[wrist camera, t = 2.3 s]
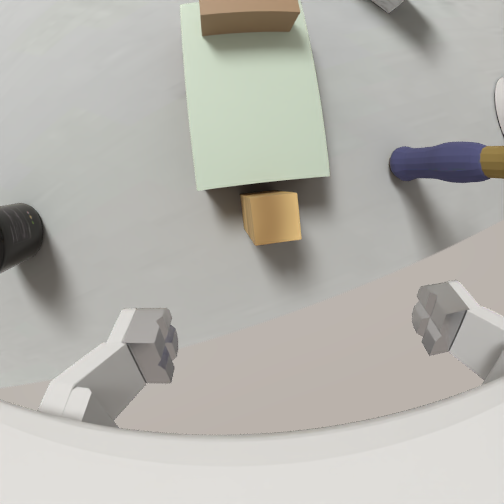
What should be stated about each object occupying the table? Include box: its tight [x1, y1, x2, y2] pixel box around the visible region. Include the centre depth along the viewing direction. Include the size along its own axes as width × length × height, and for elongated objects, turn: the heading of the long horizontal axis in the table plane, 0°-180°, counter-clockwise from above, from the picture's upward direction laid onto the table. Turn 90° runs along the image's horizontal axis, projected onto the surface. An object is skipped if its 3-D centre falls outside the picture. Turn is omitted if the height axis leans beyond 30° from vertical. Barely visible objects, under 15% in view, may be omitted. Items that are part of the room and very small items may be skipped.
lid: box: [180, 0, 330, 191], centre depth 22 cm, size 12×19×5 cm, turn 7°
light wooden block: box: [240, 190, 301, 246], centre depth 27 cm, size 4×4×9 cm
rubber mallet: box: [389, 142, 504, 183], centre depth 18 cm, size 12×8×30 cm, turn 21°
